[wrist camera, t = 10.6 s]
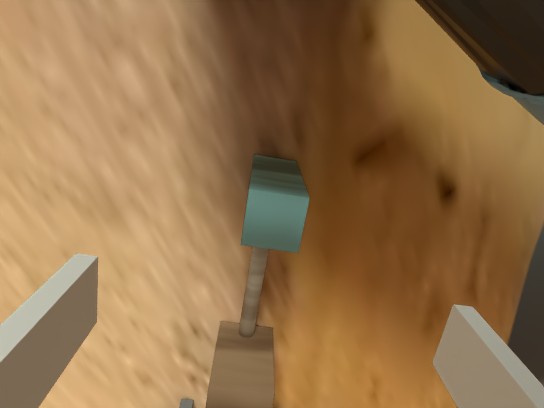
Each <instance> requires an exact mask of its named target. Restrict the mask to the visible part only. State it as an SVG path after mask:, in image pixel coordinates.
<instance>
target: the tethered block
mask: <svg viewBox="0 0 544 408" xmlns="http://www.w3.org/2000/svg"><path fill="white" fill-rule="evenodd" d="M309 199H310V198H309V195H308V192H307V189H306V187H305V184H304V181H303V178H302V175H301V173H300V170H299V167H298V164H297V161H292V160H286V159H280V158H274V157H267V156H261V155H255V154H254V159H253V165H252V172H251V178H250V185H249V191H248V198H247V205H246V212H245V219H244V225H243V232H242V239H241V245H246V246H253V247H252V254H251V260H250V266H249V272H248V278H247V284H246V290H245V296H244V302H243V308H242V314H241V320H240V324H238V323H231V322H223V321H220V327H219V332H218V338H217V343H216V349H215V354H214V360H213V365H212V371H211V376H210V382H209V387H208V394H207V401H206V408H272V404H273V400H274V395H275V388H274V352H273V328H269V327H261V326H255V324H256V318H257V313H258V307H259V302H260V296H261V291H262V285H263V279H264V274H265V268H266V263H267V257H268V252H269V249H274V250H281V251H288V252H295V253H298V252H299V247H300V243H301V238H302V233H303V228H304V223H305V218H306V214H307V209H308V204H309Z"/></svg>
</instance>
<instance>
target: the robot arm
mask: <svg viewBox="0 0 544 408" xmlns="http://www.w3.org/2000/svg"><path fill="white" fill-rule="evenodd" d="M415 1H416V2H417V3H418V4H419V5H420V6H421V7H422V8H423V9H424V10H425V11H426V12H427V13H428V14H429V15H430V16H431V17H432V18H433V19H434V20H435V22H436V23H437V24H438V25H439V26H440V27H441V28H442V29H443V30H444V31H445V32H446V33H447V34H448V35H449V36H450V37H451V38H452V39H453V40H454V41H455V42H456V43H457V45H458V46H459V47H460V48H461V49H462V50H463V51H464V52H465V53H466V54H467V55H468V56H469V57H470V58H471V59H472V60H473V61H474V62H475V63H476V65H477V67H478V68H479V70H480V72H481V74H482V76H483V78H484V79H485V80H486V81H487V82H488V83H489V84H490V85H491V86H492V87H494V88H495V89H497V90H499V91H500V92H502V93H504V94H506V95H509V96H512V97H513V98H514V99H515V100H516V101H517V102H518V103H520V104H521V105H522V106H523V107H524V108H525V109H526V110H527V111H528V112H529V113H531V114H532V115H533V116H534V117H535V118H536V119H537V120H538V121H539V122H541V123H542V124H543V125H544V0H415ZM97 286H98V256H91V255H84V254H75V255H74V256H73V257H72V258H71V259H70V260H68V261H67V262H66V263H65V264H64V265H63V266H62V267H61V268H60V269H59V270H58V271H57V272H56V273H55V274H54V275H53V276H52V277H50V278H49V279H48V280H47V281H46V282H45V283H44V284H43V285H42V286H41V287H40V288H39V289H38V290H37V291H36V292H35V293H34V294H32V295H31V296H30V297H29V298H28V299H27V300H26V301H25V302H24V303H23V304H22V305H21V306H20V307H19V308H18V309H17V310H16V311H14V312H13V313H12V314H11V315H10V316H9V317H8V318H7V319H6V320H5V321H4V322H3V323H2V324H1V325H0V408H38V407H39V406H40V404H41V403H42V401H43V400H44V399H45V397H46V396H47V394H48V393H49V391H50V390H51V388H52V387H53V385H54V384H55V382H56V381H57V380H58V378H59V377H60V375H61V374H62V372H63V371H64V369H65V368H66V366H67V365H68V363H69V362H70V361H71V359H72V358H73V356H74V355H75V353H76V352H77V350H78V349H79V347H80V346H81V344H82V343H83V341H84V340H85V339H86V337H87V336H88V334H89V333H90V331H91V330H92V328H93V327H94V325H95V324H96V322H97ZM432 364H433V366H434V367H435V369H436V371H437V373H438V374H439V376H440V378H441V380H442V381H443V383H444V385H445V387H446V388H447V390H448V392H449V394H450V395H451V397H452V399H453V401H454V402H455V404H456V406H457V408H544V387H543V385H542V384H541V383H540V382H539V381H538V380H537V379H536V378H535V376H534V375H533V374H532V373H531V372H530V371H529V370H528V369H527V368H526V366H525V365H524V364H523V363H522V362H521V361H520V360H519V358H518V357H517V356H516V355H515V354H514V353H513V352H512V351H511V349H510V348H509V347H508V346H507V345H506V344H505V343H504V341H503V340H502V339H501V338H500V337H499V336H498V335H497V333H496V332H495V331H494V330H493V329H492V328H491V327H490V326H489V324H488V323H487V322H486V321H485V320H484V319H483V318H482V317H481V315H480V314H479V313H478V312H477V311H476V310H475V309H474V308H473V307H471V306H463V305H456V304H453V306H452V309H451V312H450V315H449V318H448V320H447V323H446V326H445V329H444V332H443V334H442V337H441V340H440V343H439V346H438V348H437V351H436V354H435V357H434V360H433V362H432Z"/></svg>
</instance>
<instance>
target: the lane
mask: <svg viewBox="0 0 544 408" xmlns="http://www.w3.org/2000/svg"><path fill="white" fill-rule="evenodd" d="M192 407H193V400H188V399H181V403H180V407H179V408H192Z"/></svg>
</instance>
